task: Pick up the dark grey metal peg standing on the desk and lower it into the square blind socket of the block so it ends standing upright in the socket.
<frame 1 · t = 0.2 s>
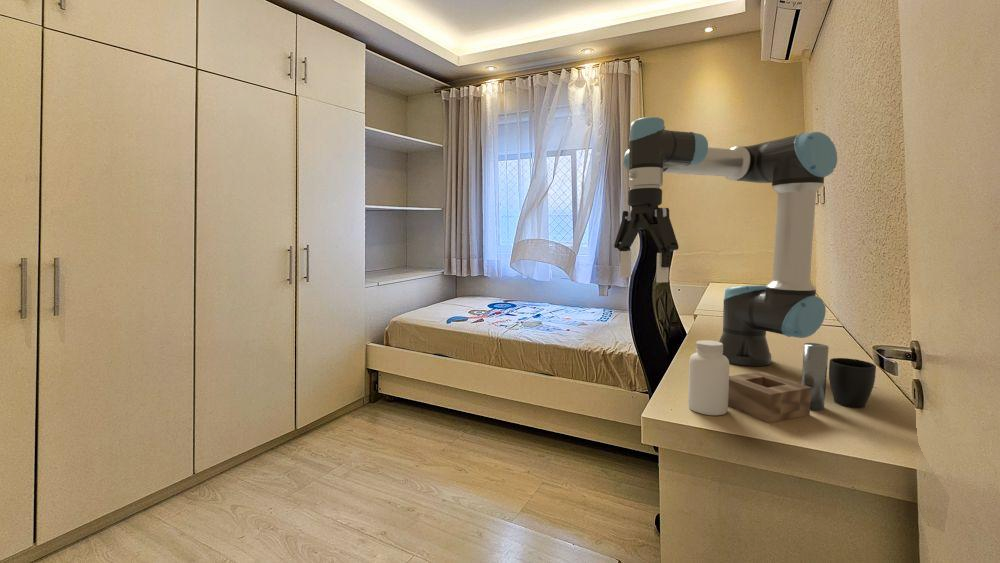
hand: (642, 279, 105), 28 cm above the table, fingers open, 13 cm apart
pill bottle: (707, 410, 97), on the table
peg: (811, 406, 99), on the table
mug: (850, 402, 102), on the table
socket block: (763, 408, 98), on the table
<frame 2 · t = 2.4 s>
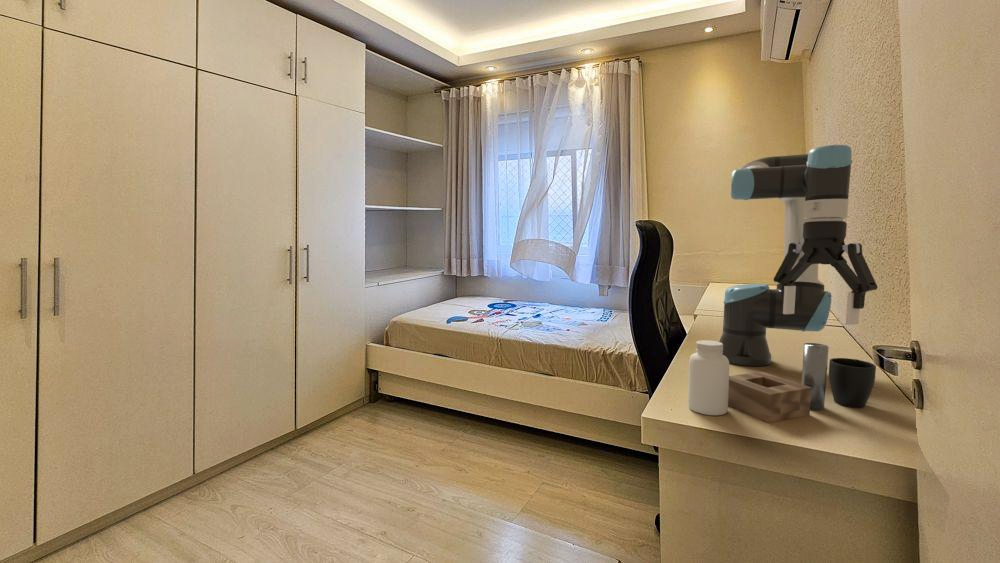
hand: (818, 318, 96), 20 cm above the table, fingers open, 13 cm apart
nothing on the table moved.
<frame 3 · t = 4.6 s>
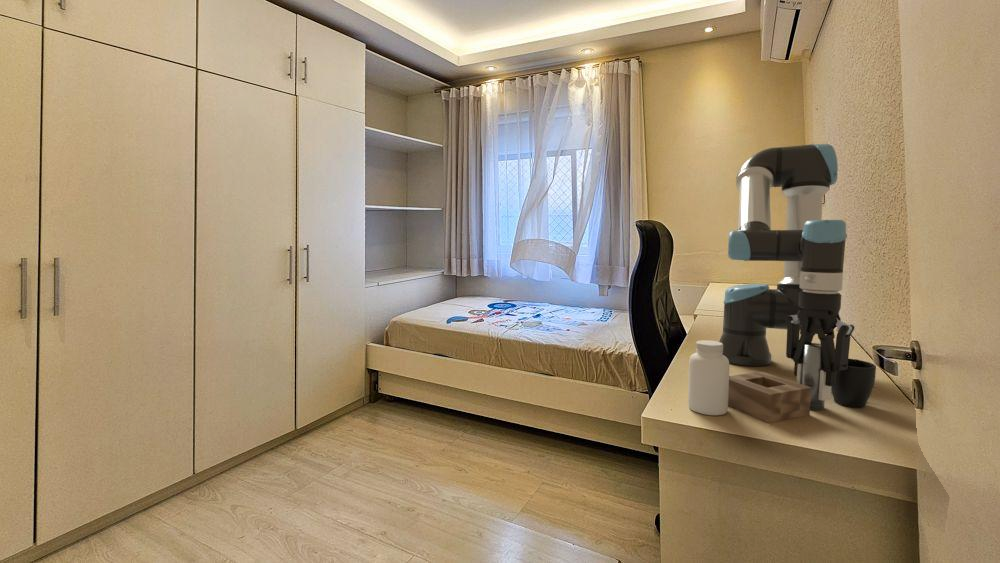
hand: (812, 395, 98), 3 cm above the table, fingers closed on peg, 4 cm apart
peg: (812, 406, 99), on the table, touching gripper
everything else where it was.
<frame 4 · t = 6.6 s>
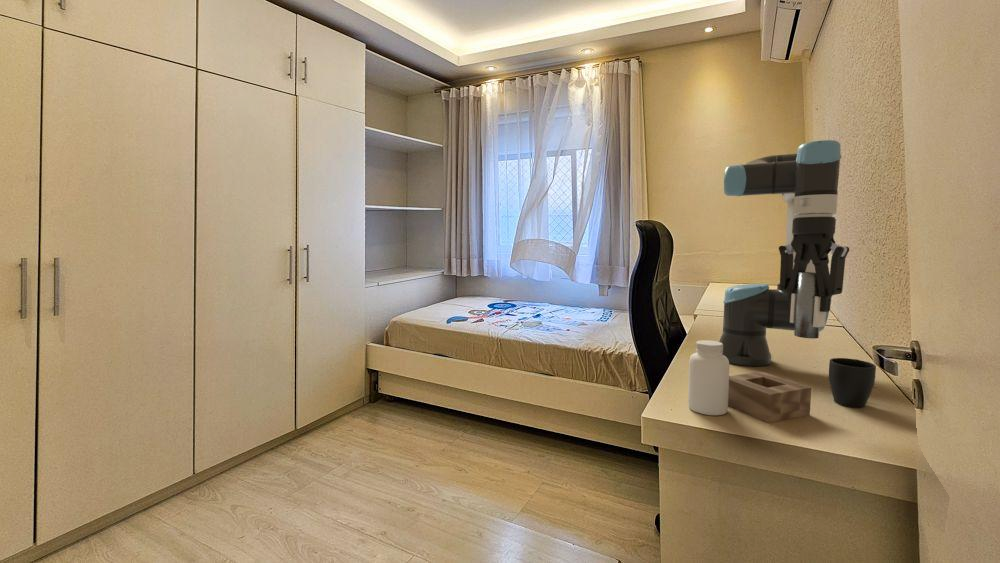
hand: (807, 324, 96), 19 cm above the table, fingers closed on peg, 4 cm apart
peg: (806, 336, 97), point 16 cm above the table, touching gripper
everything else where it was.
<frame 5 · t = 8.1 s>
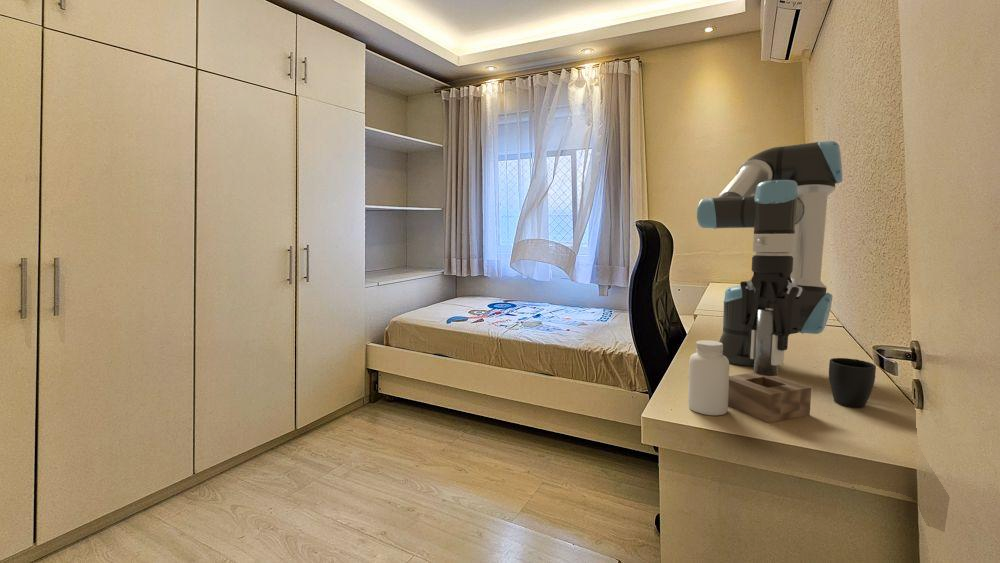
hand: (766, 361, 97), 11 cm above the table, fingers closed on peg, 4 cm apart
peg: (765, 373, 97), point 8 cm above the table, touching gripper
everything else where it was.
when the fingers open (8 cm above the table, at t = 9.0 s): peg drops 3 cm, resting on socket block.
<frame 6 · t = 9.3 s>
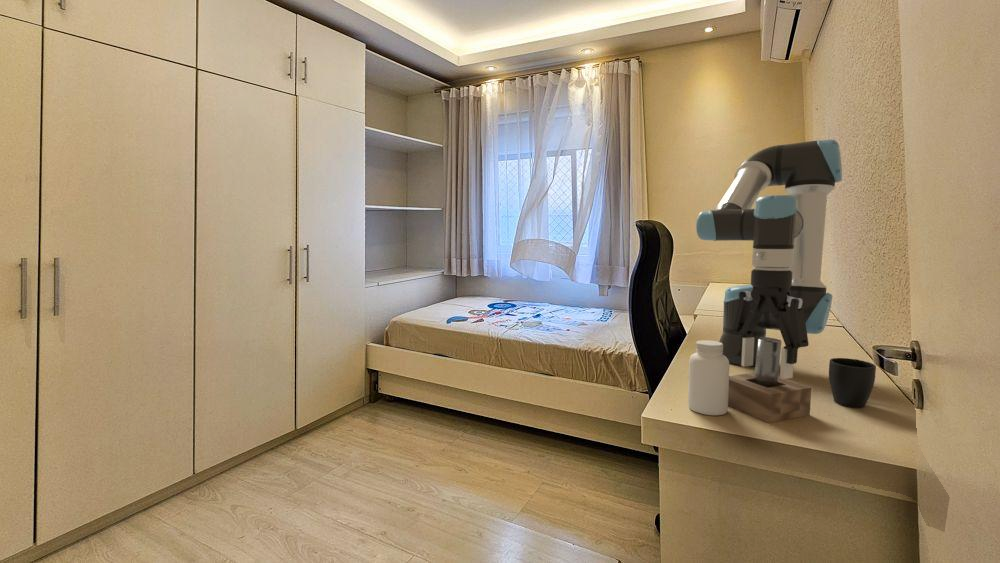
hand: (765, 371, 97), 8 cm above the table, fingers open, 9 cm apart
peg: (763, 401, 98), point 2 cm above the table, touching socket block
everything else where it was.
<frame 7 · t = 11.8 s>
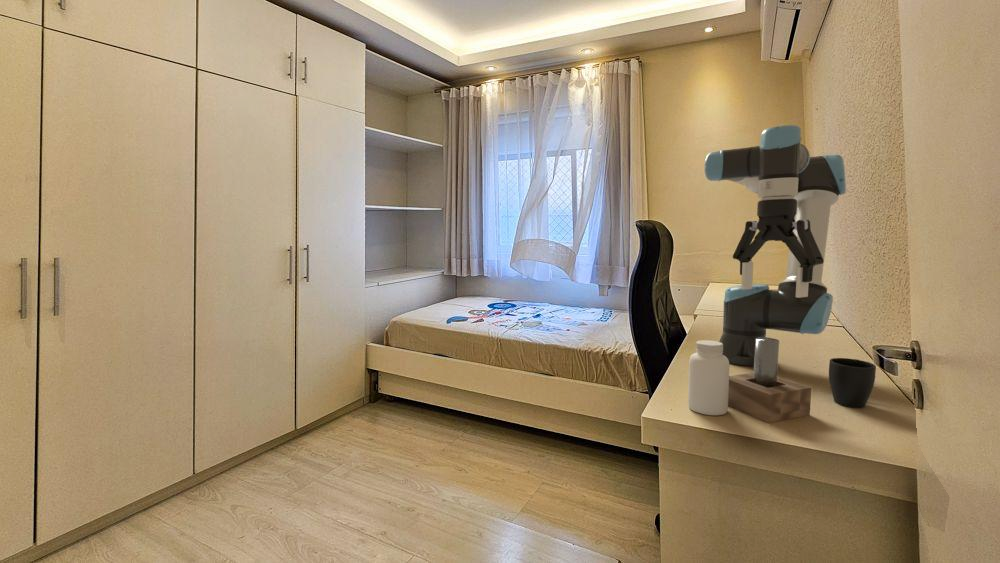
hand: (772, 292, 101), 25 cm above the table, fingers open, 13 cm apart
nothing on the table moved.
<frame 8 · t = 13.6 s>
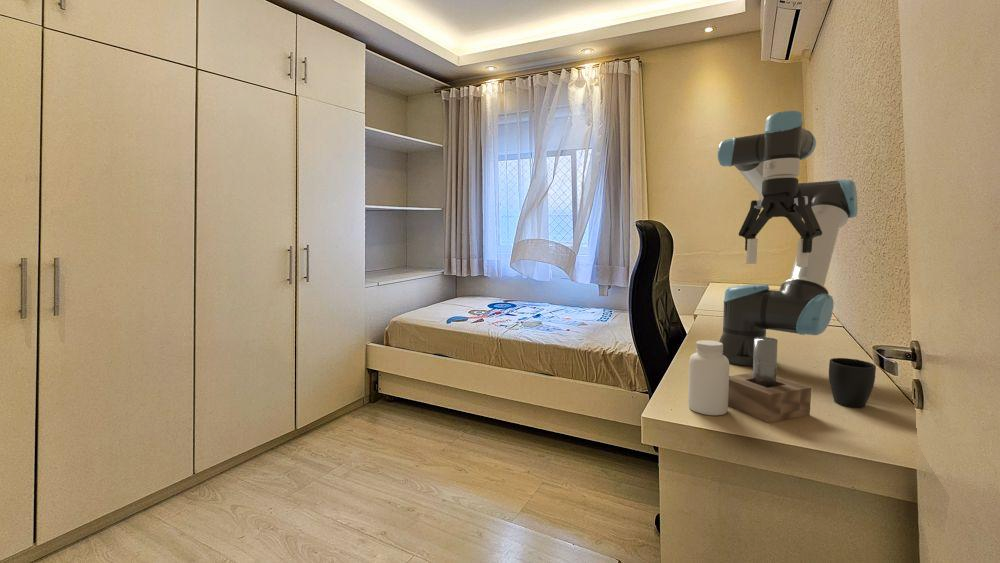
hand: (775, 265, 110), 31 cm above the table, fingers open, 13 cm apart
nothing on the table moved.
at the end: peg 0.1 cm off-centre on the socket block, point 1.5 cm above the socket block's base; peg tilted 1°; the gripper is holding nothing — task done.
